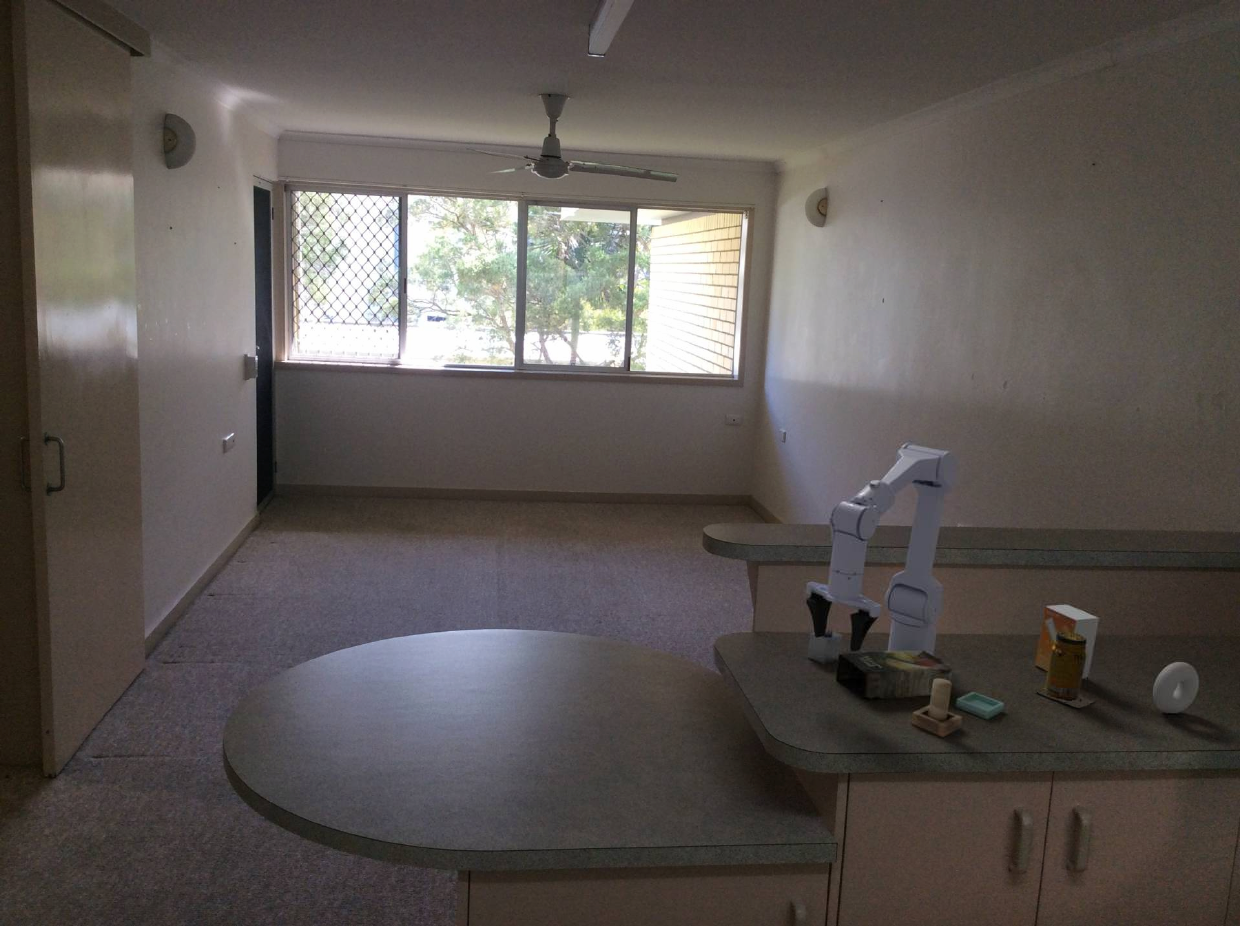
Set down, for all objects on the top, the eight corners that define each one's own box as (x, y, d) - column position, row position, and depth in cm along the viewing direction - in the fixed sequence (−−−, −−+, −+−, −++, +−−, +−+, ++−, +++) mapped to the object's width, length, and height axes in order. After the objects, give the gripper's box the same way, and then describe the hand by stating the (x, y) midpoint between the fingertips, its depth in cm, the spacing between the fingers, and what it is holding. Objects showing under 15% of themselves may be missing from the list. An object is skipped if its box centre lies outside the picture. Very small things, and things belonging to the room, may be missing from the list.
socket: (929, 714, 176) (930, 704, 175) (960, 728, 171) (962, 717, 171) (911, 723, 171) (912, 712, 171) (942, 737, 167) (944, 725, 167)
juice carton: (922, 673, 195) (927, 644, 194) (955, 695, 186) (960, 664, 185) (833, 681, 188) (837, 650, 187) (862, 704, 179) (866, 672, 178)
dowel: (932, 720, 173) (939, 677, 172) (948, 726, 171) (955, 683, 170) (923, 724, 171) (930, 680, 170) (939, 731, 169) (946, 687, 168)
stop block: (822, 652, 201) (825, 624, 200) (838, 658, 198) (842, 631, 197) (807, 657, 198) (810, 629, 197) (824, 664, 195) (827, 635, 194)
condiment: (1053, 685, 194) (1063, 627, 192) (1096, 702, 188) (1107, 642, 185) (1034, 693, 190) (1044, 633, 187) (1077, 710, 183) (1088, 648, 181)
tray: (971, 699, 184) (973, 691, 184) (1002, 711, 180) (1004, 703, 180) (955, 706, 180) (956, 699, 180) (986, 719, 176) (988, 711, 175)
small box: (1033, 666, 203) (1044, 605, 201) (1057, 663, 206) (1067, 603, 203) (1064, 682, 196) (1076, 619, 194) (1088, 679, 199) (1100, 617, 196)
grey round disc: (1160, 720, 182) (1171, 668, 180) (1144, 712, 185) (1154, 661, 183) (1197, 714, 186) (1207, 663, 184) (1180, 706, 189) (1190, 656, 187)
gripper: (799, 562, 178) (790, 634, 181) (869, 585, 168) (858, 661, 170) (823, 556, 183) (814, 627, 185) (892, 578, 173) (881, 653, 175)
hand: (837, 643), depth 178 cm, fingers open, 7 cm apart
